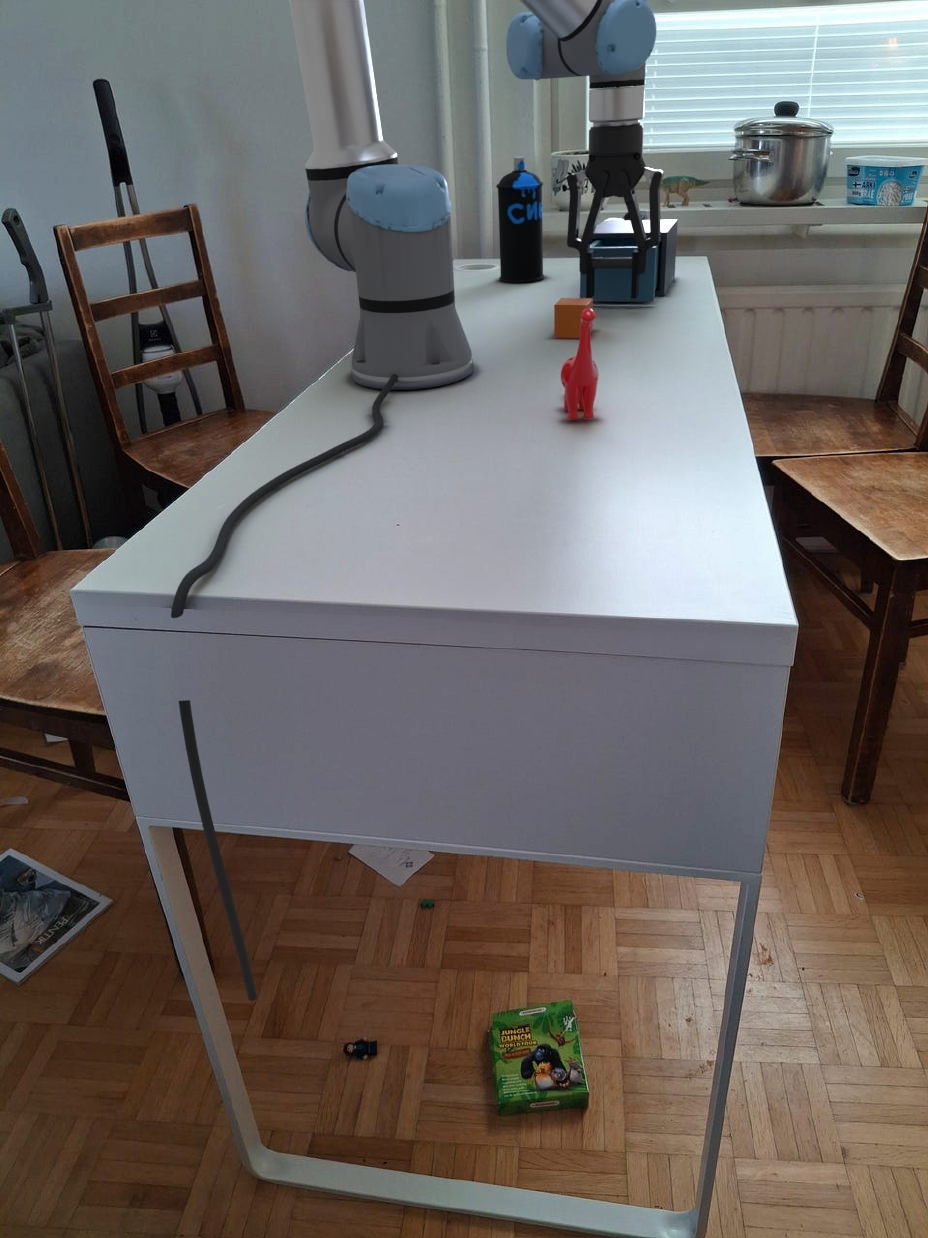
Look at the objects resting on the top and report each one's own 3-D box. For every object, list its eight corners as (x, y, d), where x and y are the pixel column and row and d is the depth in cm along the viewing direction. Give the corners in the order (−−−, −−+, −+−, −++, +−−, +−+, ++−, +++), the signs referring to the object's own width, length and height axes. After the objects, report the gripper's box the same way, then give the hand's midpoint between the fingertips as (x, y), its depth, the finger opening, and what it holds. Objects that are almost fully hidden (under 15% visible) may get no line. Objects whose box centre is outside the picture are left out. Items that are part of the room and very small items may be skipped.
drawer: (648, 308, 139) (651, 252, 135) (573, 307, 142) (573, 253, 138) (664, 284, 154) (666, 233, 150) (595, 284, 157) (596, 234, 153)
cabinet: (664, 295, 150) (667, 231, 145) (586, 295, 154) (587, 233, 149) (674, 278, 162) (677, 219, 157) (602, 278, 166) (603, 220, 161)
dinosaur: (587, 394, 106) (589, 280, 100) (608, 438, 93) (610, 310, 87) (553, 396, 106) (552, 283, 100) (568, 440, 93) (568, 312, 87)
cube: (586, 338, 129) (586, 304, 126) (554, 338, 130) (554, 304, 128) (592, 330, 132) (592, 298, 130) (561, 330, 134) (561, 297, 131)
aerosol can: (491, 278, 172) (487, 157, 162) (531, 273, 174) (528, 154, 165) (512, 285, 165) (508, 159, 155) (552, 279, 168) (552, 155, 158)
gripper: (688, 118, 130) (679, 291, 141) (554, 125, 135) (555, 291, 146) (683, 121, 123) (673, 302, 135) (542, 128, 129) (545, 301, 140)
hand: (612, 296), depth 141 cm, fingers closed on drawer, 6 cm apart
